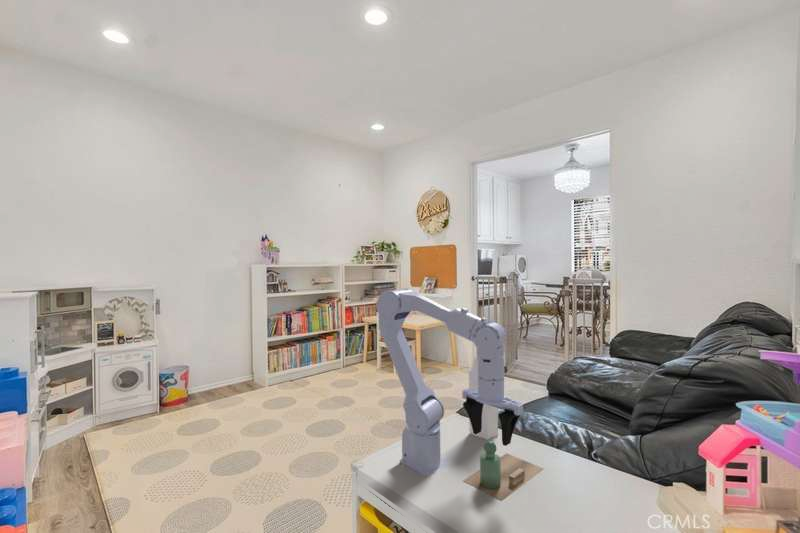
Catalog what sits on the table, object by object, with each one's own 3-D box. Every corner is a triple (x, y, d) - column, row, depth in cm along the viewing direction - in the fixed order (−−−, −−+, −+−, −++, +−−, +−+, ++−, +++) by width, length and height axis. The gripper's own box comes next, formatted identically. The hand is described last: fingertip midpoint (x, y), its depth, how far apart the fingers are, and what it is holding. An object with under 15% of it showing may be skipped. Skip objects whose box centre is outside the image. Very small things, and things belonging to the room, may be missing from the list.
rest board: (462, 483, 84) (462, 472, 84) (506, 455, 96) (506, 446, 96) (501, 503, 77) (501, 492, 77) (543, 471, 89) (543, 460, 89)
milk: (487, 442, 104) (486, 362, 104) (469, 435, 108) (468, 359, 108) (498, 434, 108) (497, 358, 108) (480, 428, 112) (479, 355, 112)
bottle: (476, 483, 83) (475, 441, 83) (487, 476, 86) (487, 435, 86) (493, 492, 80) (492, 448, 80) (504, 484, 83) (504, 441, 83)
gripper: (530, 380, 81) (530, 443, 81) (474, 367, 92) (475, 423, 92) (512, 387, 76) (513, 454, 76) (456, 373, 87) (457, 431, 87)
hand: (491, 438), depth 84 cm, fingers open, 7 cm apart
